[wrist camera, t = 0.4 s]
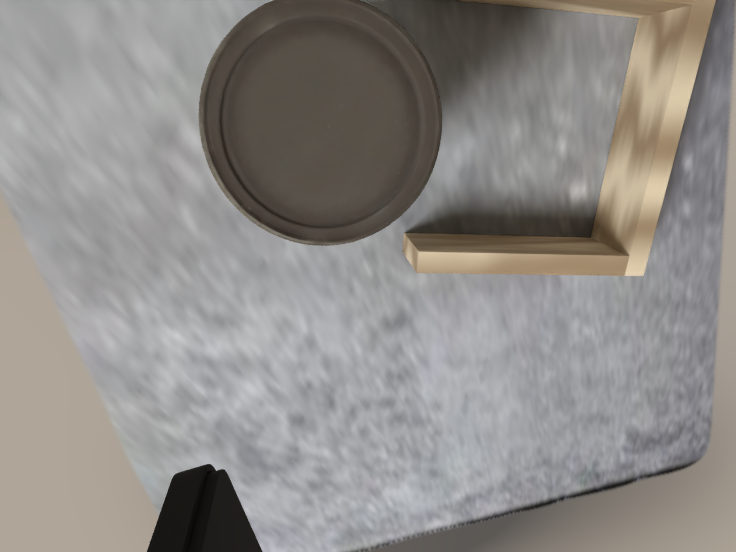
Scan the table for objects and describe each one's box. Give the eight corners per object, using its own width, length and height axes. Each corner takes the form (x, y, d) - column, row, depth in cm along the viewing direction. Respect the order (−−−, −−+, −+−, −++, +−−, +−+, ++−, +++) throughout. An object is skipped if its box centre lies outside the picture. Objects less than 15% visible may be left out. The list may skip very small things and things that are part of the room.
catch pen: (427, -29, 31) (448, -52, 27) (663, -5, 34) (721, -21, 29) (402, 251, 38) (417, 272, 33) (603, 255, 40) (643, 275, 36)
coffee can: (262, 10, 31) (234, -56, 18) (409, 70, 33) (480, 51, 20) (222, 165, 34) (172, 206, 21) (360, 210, 36) (393, 273, 23)
